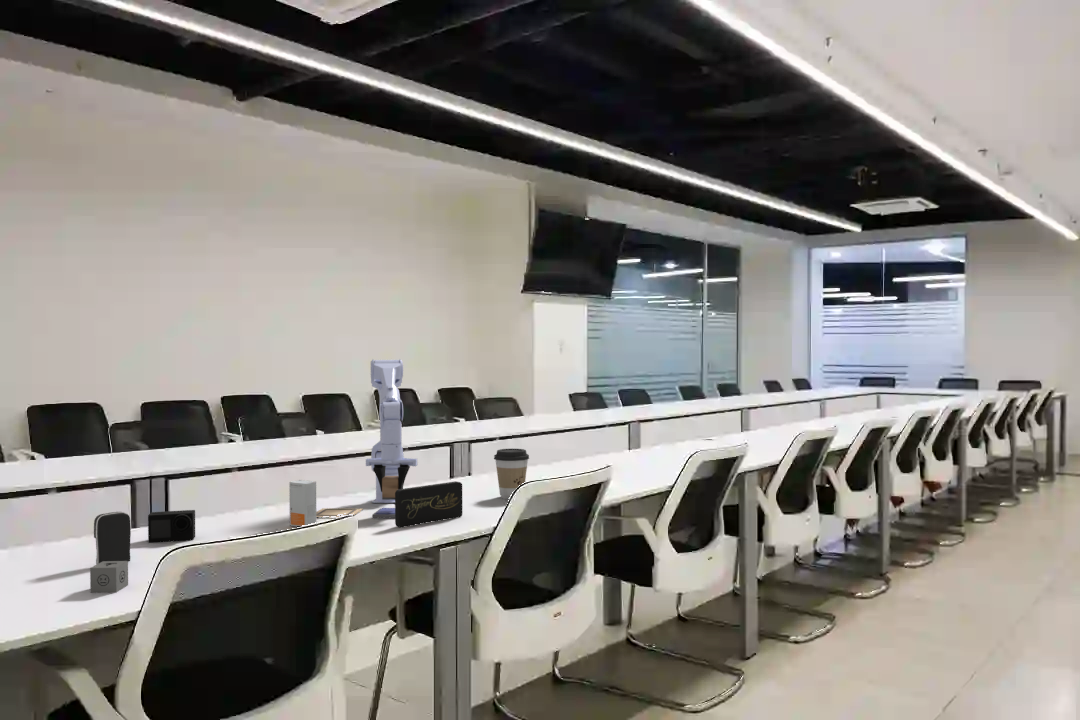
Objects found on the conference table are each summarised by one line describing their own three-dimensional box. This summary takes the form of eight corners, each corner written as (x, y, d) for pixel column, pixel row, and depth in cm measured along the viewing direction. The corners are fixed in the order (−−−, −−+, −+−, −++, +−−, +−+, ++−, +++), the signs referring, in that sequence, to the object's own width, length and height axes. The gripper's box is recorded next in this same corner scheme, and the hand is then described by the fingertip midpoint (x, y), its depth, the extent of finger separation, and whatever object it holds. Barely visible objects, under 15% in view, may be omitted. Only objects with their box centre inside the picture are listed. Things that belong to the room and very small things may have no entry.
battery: (125, 559, 186) (124, 509, 186) (131, 562, 184) (131, 511, 183) (92, 565, 181) (91, 513, 181) (98, 568, 178) (97, 516, 178)
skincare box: (288, 526, 220) (288, 481, 220) (300, 523, 224) (300, 479, 224) (305, 528, 217) (305, 483, 217) (317, 525, 221) (316, 481, 221)
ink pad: (380, 511, 239) (380, 507, 239) (411, 512, 238) (411, 507, 238) (372, 518, 230) (372, 513, 230) (403, 518, 229) (403, 513, 229)
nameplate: (399, 528, 218) (398, 490, 217) (395, 527, 219) (394, 489, 219) (462, 517, 232) (462, 481, 232) (458, 516, 233) (458, 480, 233)
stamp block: (385, 496, 236) (385, 475, 236) (401, 496, 236) (400, 475, 236) (382, 499, 232) (382, 478, 232) (397, 499, 232) (397, 478, 231)
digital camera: (146, 544, 201) (146, 516, 201) (150, 539, 206) (150, 511, 206) (192, 541, 203) (192, 513, 203) (195, 536, 209) (195, 509, 209)
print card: (322, 509, 243) (322, 507, 242) (362, 509, 242) (362, 508, 242) (308, 518, 231) (308, 516, 231) (350, 518, 230) (350, 516, 230)
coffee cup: (514, 502, 253) (514, 453, 253) (486, 498, 260) (486, 450, 260) (536, 496, 262) (536, 449, 262) (509, 492, 269) (509, 447, 269)
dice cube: (128, 585, 166) (127, 560, 166) (116, 592, 161) (116, 567, 161) (103, 585, 166) (102, 561, 166) (90, 593, 161) (90, 568, 161)
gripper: (362, 445, 230) (362, 493, 230) (413, 445, 229) (413, 493, 230) (369, 442, 237) (369, 489, 237) (418, 442, 236) (419, 489, 237)
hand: (391, 491), depth 234 cm, fingers closed on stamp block, 4 cm apart
